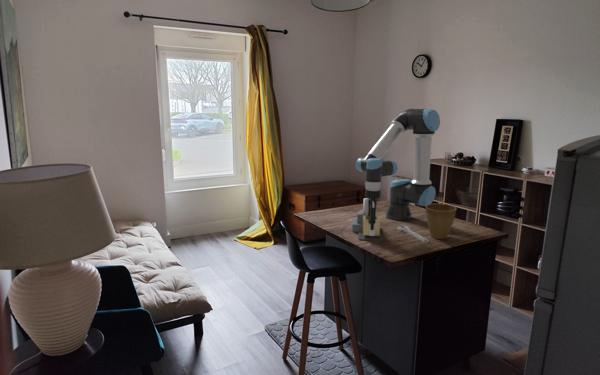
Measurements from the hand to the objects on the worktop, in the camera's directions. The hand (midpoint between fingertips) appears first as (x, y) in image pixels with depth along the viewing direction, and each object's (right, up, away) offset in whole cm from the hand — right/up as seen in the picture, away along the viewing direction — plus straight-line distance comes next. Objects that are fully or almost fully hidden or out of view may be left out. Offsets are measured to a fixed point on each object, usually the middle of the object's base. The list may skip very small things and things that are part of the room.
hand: (370, 232), depth 198 cm
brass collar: (0, 0, 0) cm, 0 cm away
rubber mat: (0, -2, 0) cm, 2 cm away
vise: (-1, 0, +13) cm, 13 cm away
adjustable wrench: (+22, -2, +5) cm, 23 cm away
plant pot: (+35, -3, +2) cm, 35 cm away
